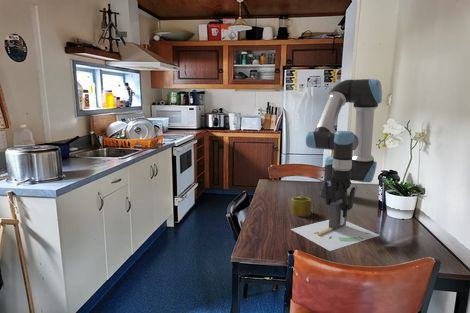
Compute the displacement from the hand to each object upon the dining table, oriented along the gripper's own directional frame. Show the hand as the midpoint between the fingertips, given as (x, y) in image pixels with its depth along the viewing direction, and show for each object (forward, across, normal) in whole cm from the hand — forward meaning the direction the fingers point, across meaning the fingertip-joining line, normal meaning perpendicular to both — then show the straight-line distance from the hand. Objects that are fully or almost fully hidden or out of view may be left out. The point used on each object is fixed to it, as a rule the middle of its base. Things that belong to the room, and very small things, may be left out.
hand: (337, 222), depth 138 cm
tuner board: (+3, +1, -6) cm, 7 cm away
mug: (+3, -21, +6) cm, 22 cm away
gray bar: (+2, -1, -4) cm, 5 cm away
